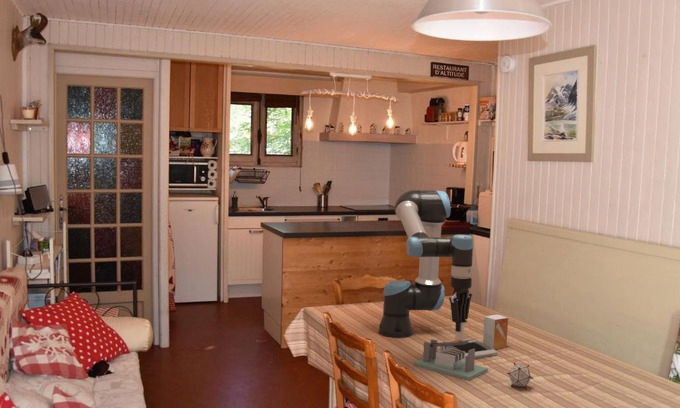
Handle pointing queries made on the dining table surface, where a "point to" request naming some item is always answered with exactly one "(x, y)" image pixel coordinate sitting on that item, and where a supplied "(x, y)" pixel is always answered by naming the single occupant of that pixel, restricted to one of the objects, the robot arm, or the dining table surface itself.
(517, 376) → the game die
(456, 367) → the heatsink
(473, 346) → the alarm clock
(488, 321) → the small box
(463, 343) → the dark grey bar
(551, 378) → the dining table surface
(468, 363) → the base board
